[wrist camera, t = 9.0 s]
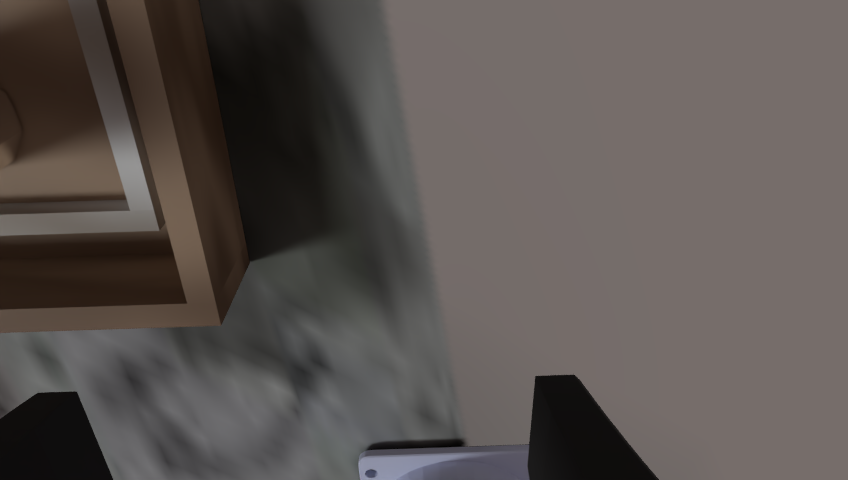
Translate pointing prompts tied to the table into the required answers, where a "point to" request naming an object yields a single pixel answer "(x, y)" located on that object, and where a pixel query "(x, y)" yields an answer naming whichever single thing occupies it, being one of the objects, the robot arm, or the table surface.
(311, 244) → the table surface
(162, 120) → the socket box
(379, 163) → the table surface
